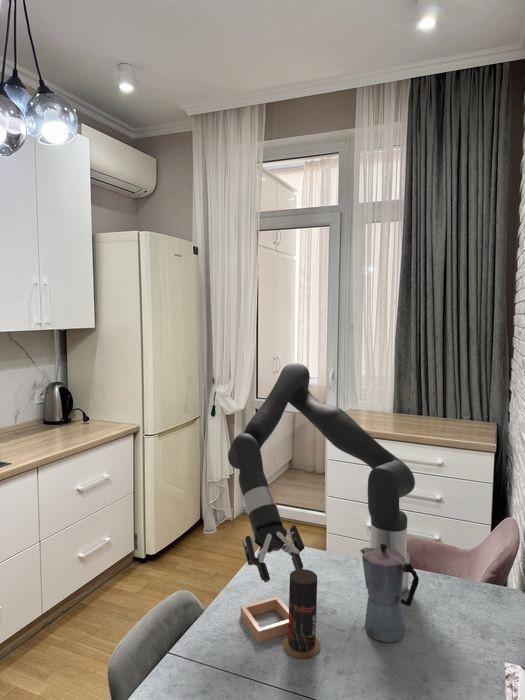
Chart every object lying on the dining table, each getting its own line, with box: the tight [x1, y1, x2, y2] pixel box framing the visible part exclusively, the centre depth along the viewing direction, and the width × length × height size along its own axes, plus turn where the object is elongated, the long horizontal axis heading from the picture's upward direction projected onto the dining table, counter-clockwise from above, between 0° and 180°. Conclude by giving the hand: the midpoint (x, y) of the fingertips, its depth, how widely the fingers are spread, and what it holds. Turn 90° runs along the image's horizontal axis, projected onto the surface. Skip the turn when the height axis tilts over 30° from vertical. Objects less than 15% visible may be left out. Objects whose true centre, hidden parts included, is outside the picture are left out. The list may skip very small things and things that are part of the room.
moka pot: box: [359, 544, 420, 643], centre depth 109 cm, size 10×15×20 cm, turn 44°
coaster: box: [282, 634, 321, 660], centre depth 104 cm, size 8×8×1 cm
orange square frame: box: [239, 595, 289, 643], centre depth 112 cm, size 10×10×2 cm
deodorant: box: [287, 568, 318, 652], centre depth 104 cm, size 6×6×15 cm
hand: (283, 576), depth 110 cm, fingers open, 8 cm apart
